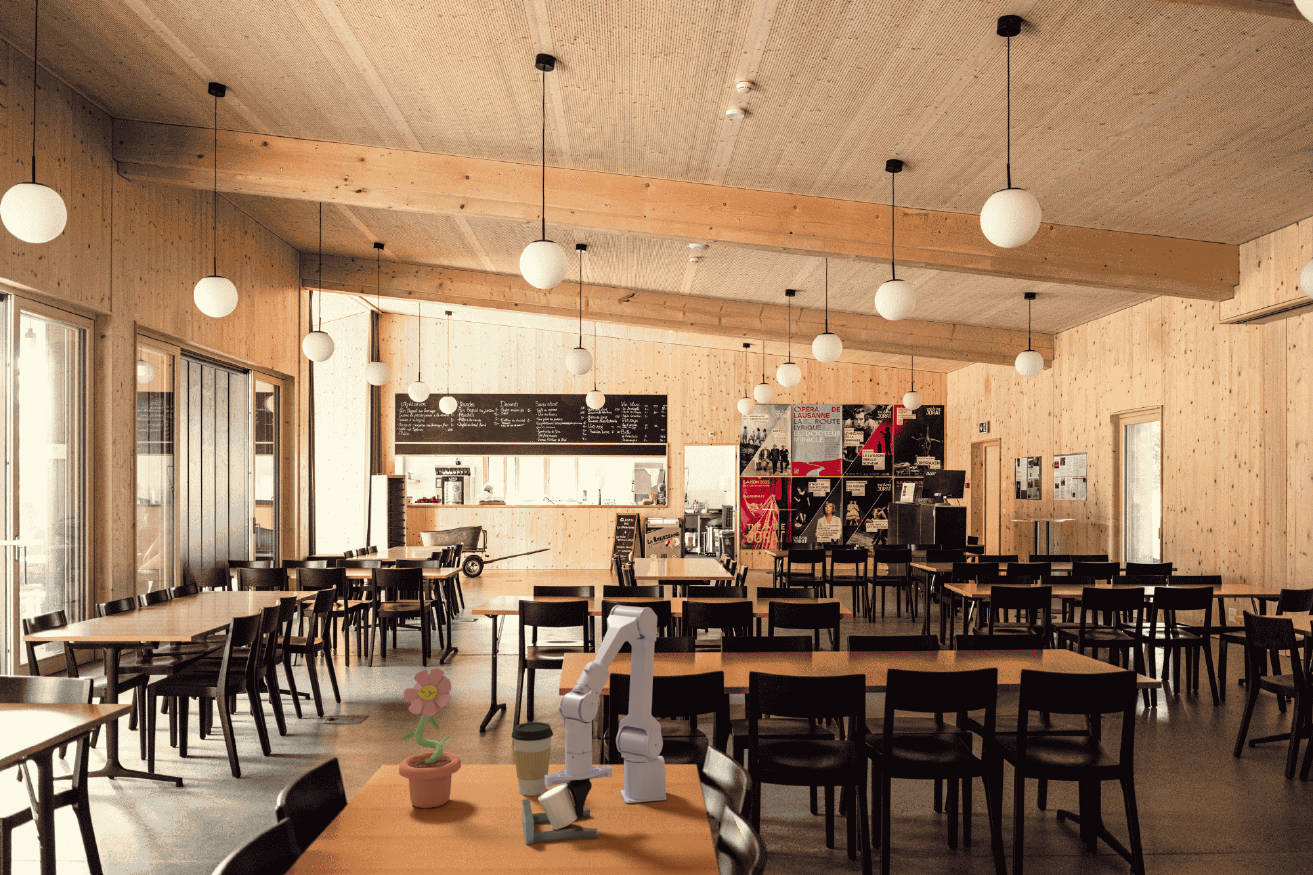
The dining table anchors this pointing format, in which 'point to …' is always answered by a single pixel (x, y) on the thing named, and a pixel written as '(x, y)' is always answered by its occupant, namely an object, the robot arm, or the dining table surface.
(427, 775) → the decorative flower
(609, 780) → the dining table surface
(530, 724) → the coffee cup
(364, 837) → the dining table surface
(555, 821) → the shot glass
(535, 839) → the grey hook bracket
